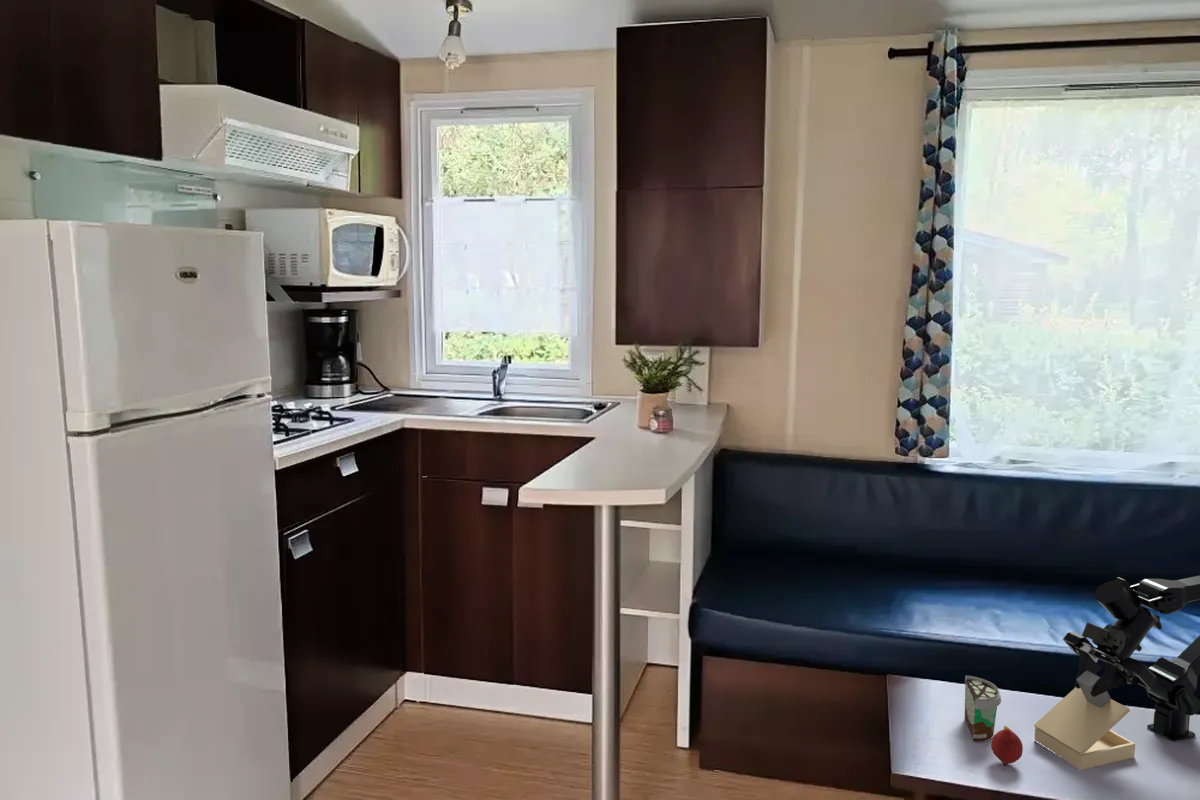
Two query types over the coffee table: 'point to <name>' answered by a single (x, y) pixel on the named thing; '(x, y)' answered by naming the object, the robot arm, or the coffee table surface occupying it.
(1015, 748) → the onion
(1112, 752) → the carton
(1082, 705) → the carton flap
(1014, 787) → the coffee table surface
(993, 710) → the food container
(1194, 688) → the robot arm
